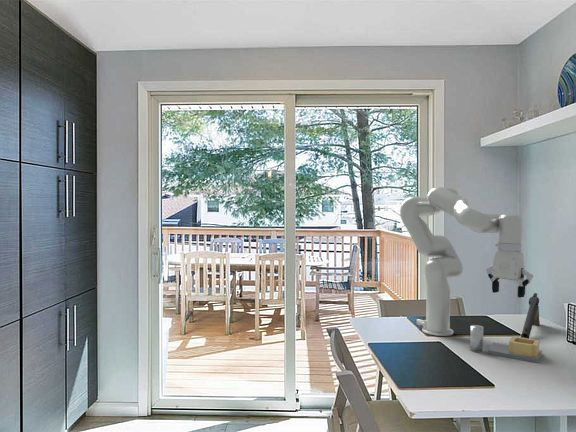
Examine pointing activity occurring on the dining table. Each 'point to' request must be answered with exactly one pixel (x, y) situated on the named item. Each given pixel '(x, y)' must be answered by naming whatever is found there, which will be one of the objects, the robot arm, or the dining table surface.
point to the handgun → (531, 316)
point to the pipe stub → (476, 338)
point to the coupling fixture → (518, 349)
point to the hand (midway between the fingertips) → (507, 294)
